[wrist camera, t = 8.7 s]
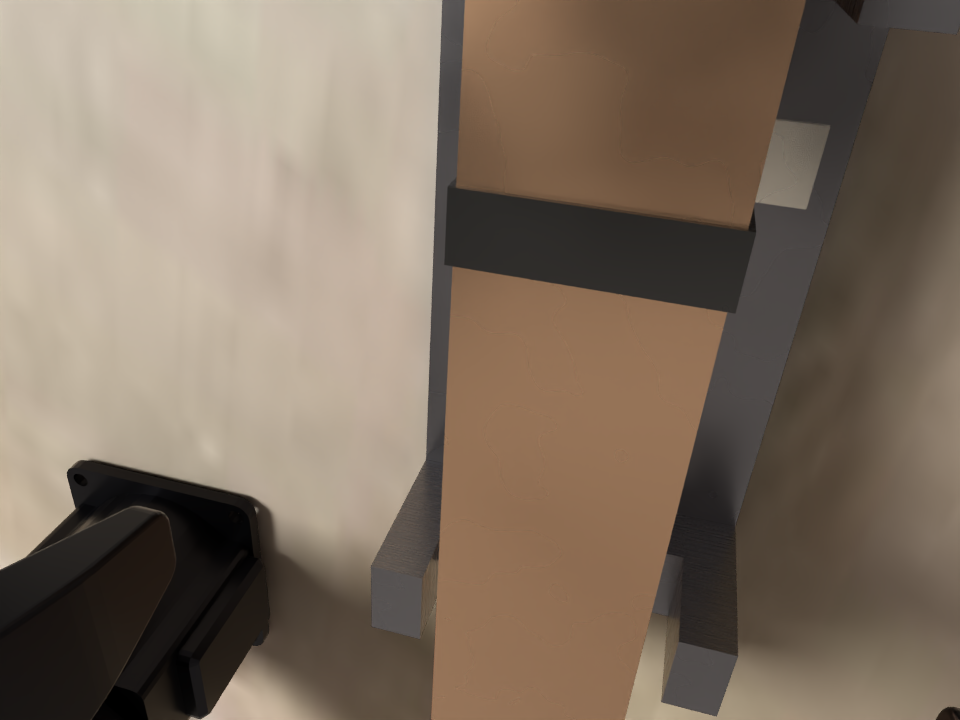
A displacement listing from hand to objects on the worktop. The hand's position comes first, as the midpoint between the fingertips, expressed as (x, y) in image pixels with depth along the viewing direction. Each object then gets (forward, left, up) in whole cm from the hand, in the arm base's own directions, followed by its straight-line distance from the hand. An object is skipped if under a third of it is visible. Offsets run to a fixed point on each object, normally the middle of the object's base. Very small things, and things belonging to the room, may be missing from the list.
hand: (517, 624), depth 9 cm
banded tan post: (0, 0, -8) cm, 8 cm away
